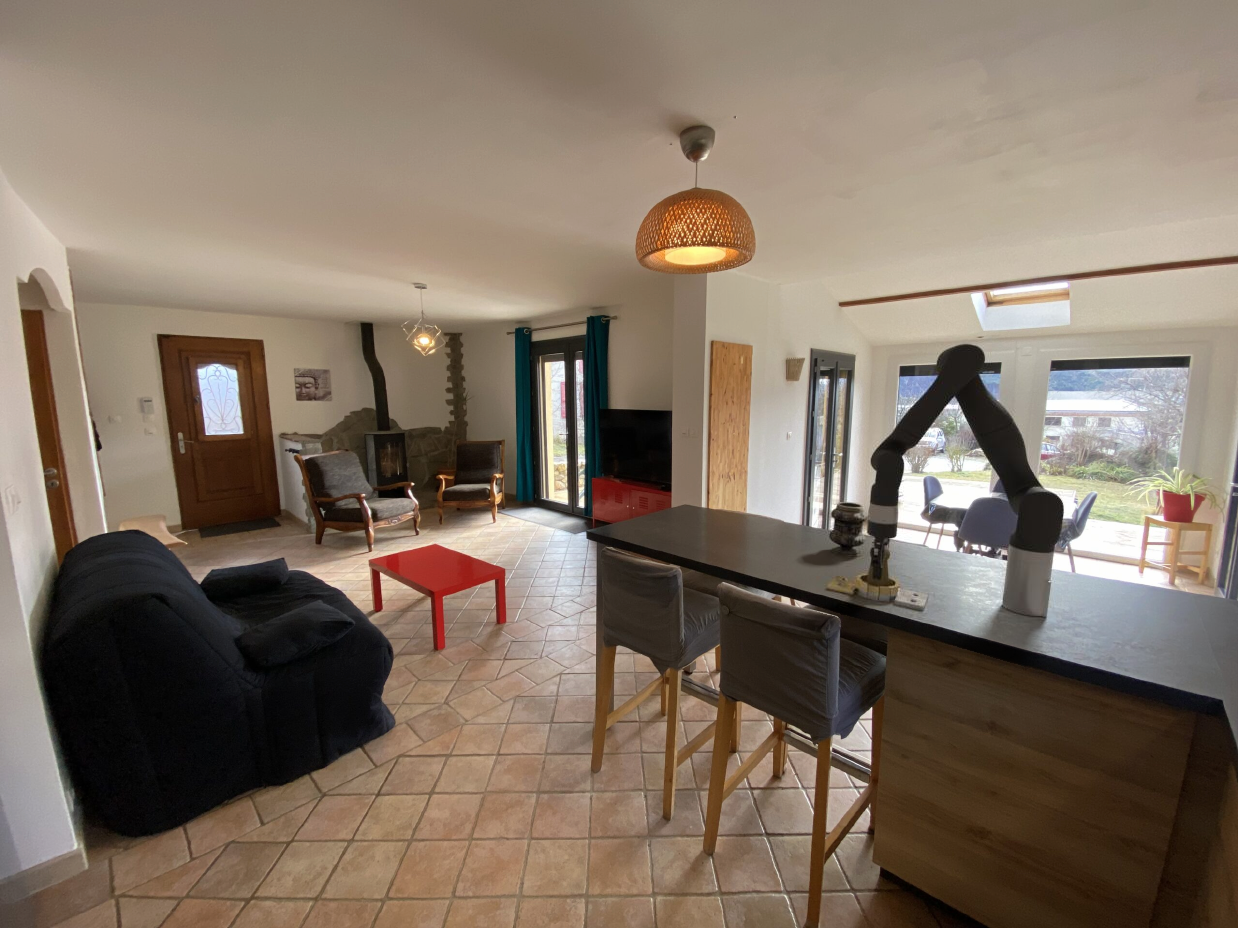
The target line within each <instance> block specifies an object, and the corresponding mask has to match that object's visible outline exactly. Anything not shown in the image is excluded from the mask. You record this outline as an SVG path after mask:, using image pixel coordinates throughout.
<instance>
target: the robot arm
mask: <svg viewBox="0 0 1238 928" xmlns="http://www.w3.org/2000/svg"><path fill="white" fill-rule="evenodd" d="M985 362H986V355H985V352H984V350H983V349H982V348H981V347H980V346H978V345H976V344H973V343H962V344H957V345H954V346H952V347H950V348H947V349H945V350H943V351H942V352H941V353H940V354H939V355H938V357H937V360H936V363H935V364H936V370H937V372H938V374H937V376H936V378H935V380H934V381H933V383H931V385H930V386H929V388H928V389H927V390H926V391H925V392H924V393H923V394H922V396H921V397H920V398H919V399H918V400H917V401H916V402H915V403H913V405H912V406H911V407H910V408H909V409H908V410H907V411H906V412H905V414H904V415H903V416H902V417H901V419H900V420H899V421H898V423H897V425H896V426H895V428H894V429H893V431H892V432H891V433H890V434H889V435H888V436H887V437H886V438H885V439H883V441H882V442H881V443H880V444H879V445H878V447H876V449H875V450H874V452H872V455H871V457H870V465H871V467H872V469H873V470H874V471H875V479H874V483H873V484H872V485H871V489H870V498H869V505H868V512H867V513H868V514H867V526H866V528H867V529H866V533H867V535H868V536H871V537H874V540H873V541H872V542H871V548H870V549H871V556H870V563H871V566H873V576H872V578H873V579H875V578H877V579H878V580H881V575H882V567H883V560H885V555H886V550H887V549H888V550H889V551H890V545H891V543H890V542H891V539H895V538H896V537H897V536H898V535H897V533H898V523H899V522H898V520H899V497H900V496H899V494H900V492H899V491H900V487H901V485H902V481H903V478H904V477H903V476H904V473H905V459H904V457H903V456H904V455H905V454H906V453H907V452H908V451H909V450H910V449H913V448H915V447H916V446H918V444H919V443H920V442H921V440H922V439H923V437H924V436H925V435H926V434H927V432H928V431H929V430H930V428H931V426H932V425H933V423H935V421H936V420H937V419H938V417H939V416H940V415H941V414H942V412H943V411H944V410H945V408H946V407H947V406H948V404H949V403H950V402H951V401H952V400H953V399H954V398H955V399H956V401H957V403H958V405H959V407H960V410H961V412H962V413H963V416H964V418H965V420H966V422H967V424H968V426H969V427H970V430H971V432H972V434H973V437H974V438H975V440H976V442H977V444H978V446H979V448H980V449H981V451H982V453H983V455H985V458H986V459H987V460H988V463H989V464H990V466H991V467H992V469H993V471H995V473H996V475H997V477H998V478H999V480H1000V482H1001V485H1002V489H1003V491H1004V492H1005V496H1006V498H1007V501H1008V503H1009V506H1010V508H1011V510H1012V511H1013V512H1014V514H1015V515H1016V516H1017V519H1016V526H1015V531H1014V532H1013V533H1011V534H1010V537H1009V541H1008V543H1009V544H1008V552H1007V560H1006V568H1005V578H1004V586H1003V594H1002V606H1003V607H1004V608H1005V609H1006V610H1008V611H1011V612H1012V613H1017V614H1021V615H1025V616H1030V617H1042V618H1047V617H1048V609H1049V604H1050V602H1049V601H1050V595H1051V588H1052V580H1051V578H1052V571H1053V563H1054V554H1055V548H1056V545H1057V544H1058V542H1059V540H1060V537H1061V533H1062V532H1061V531H1062V526H1063V522H1064V516H1065V515H1064V513H1065V508H1064V507H1065V506H1064V502H1063V500H1062V498H1061V497H1060V496H1059V495H1057V494H1056V493H1054V492H1052V491H1050V490H1049V489H1046V488H1045V487H1044V486H1043V485H1042V484H1041V482H1040V481H1039V479H1038V478H1037V477H1036V474H1034V473H1035V472H1033V470H1032V468H1031V466H1030V464H1029V461H1028V455H1027V449H1026V448H1027V447H1026V445H1025V444H1026V443H1025V441H1024V438H1023V436H1022V433H1021V431H1020V428H1019V427H1018V425H1017V423H1016V422H1015V420H1014V418H1013V417H1012V415H1011V414H1010V412H1009V411H1008V410H1007V409H1006V407H1005V406H1004V405H1002V403H1001V402H1000V401H999V400H998V399H996V398H995V396H994V395H993V394H992V393H991V392H990V391H989V390H988V388H987V387H986V385H985V383H984V382H983V379H982V377H981V375H980V372H981V371H982V370H983V368H984V365H985ZM883 551H884V552H883ZM882 554H883V556H882ZM875 560H878V561H879V563H877V562H875Z"/></svg>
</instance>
